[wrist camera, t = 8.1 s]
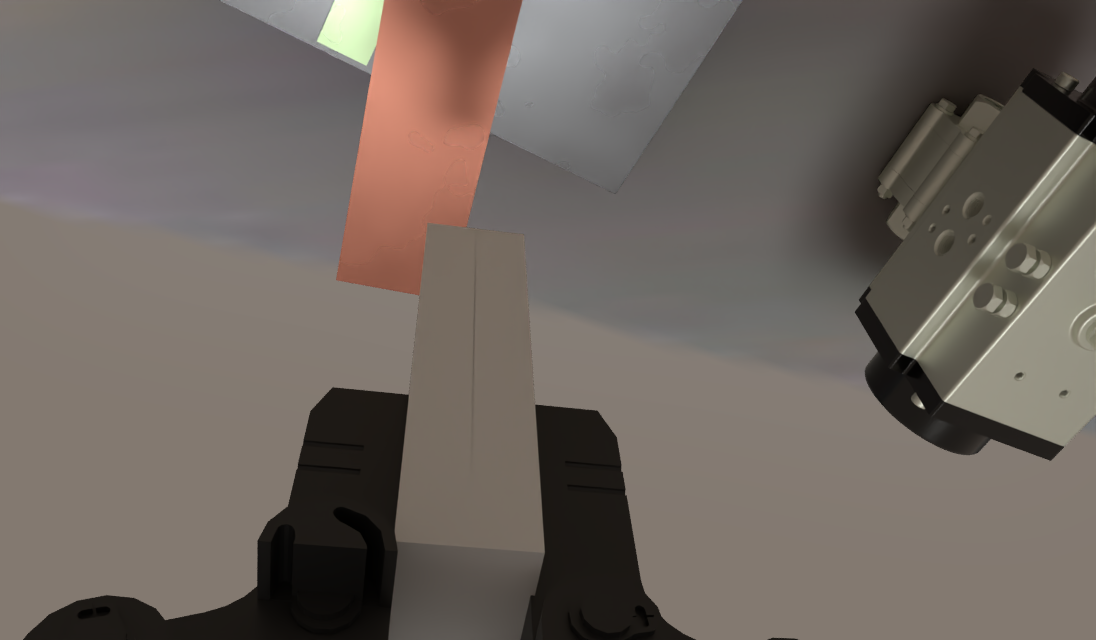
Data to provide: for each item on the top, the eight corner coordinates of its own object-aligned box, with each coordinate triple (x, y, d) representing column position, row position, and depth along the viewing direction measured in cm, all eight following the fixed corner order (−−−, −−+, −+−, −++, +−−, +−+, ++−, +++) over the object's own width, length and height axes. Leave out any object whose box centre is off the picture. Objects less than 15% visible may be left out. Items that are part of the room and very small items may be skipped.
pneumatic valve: (1097, 35, 33) (1365, 196, 23) (892, 300, 39) (1038, 520, 29) (972, -34, 32) (1204, 108, 22) (777, 253, 37) (890, 470, 27)
